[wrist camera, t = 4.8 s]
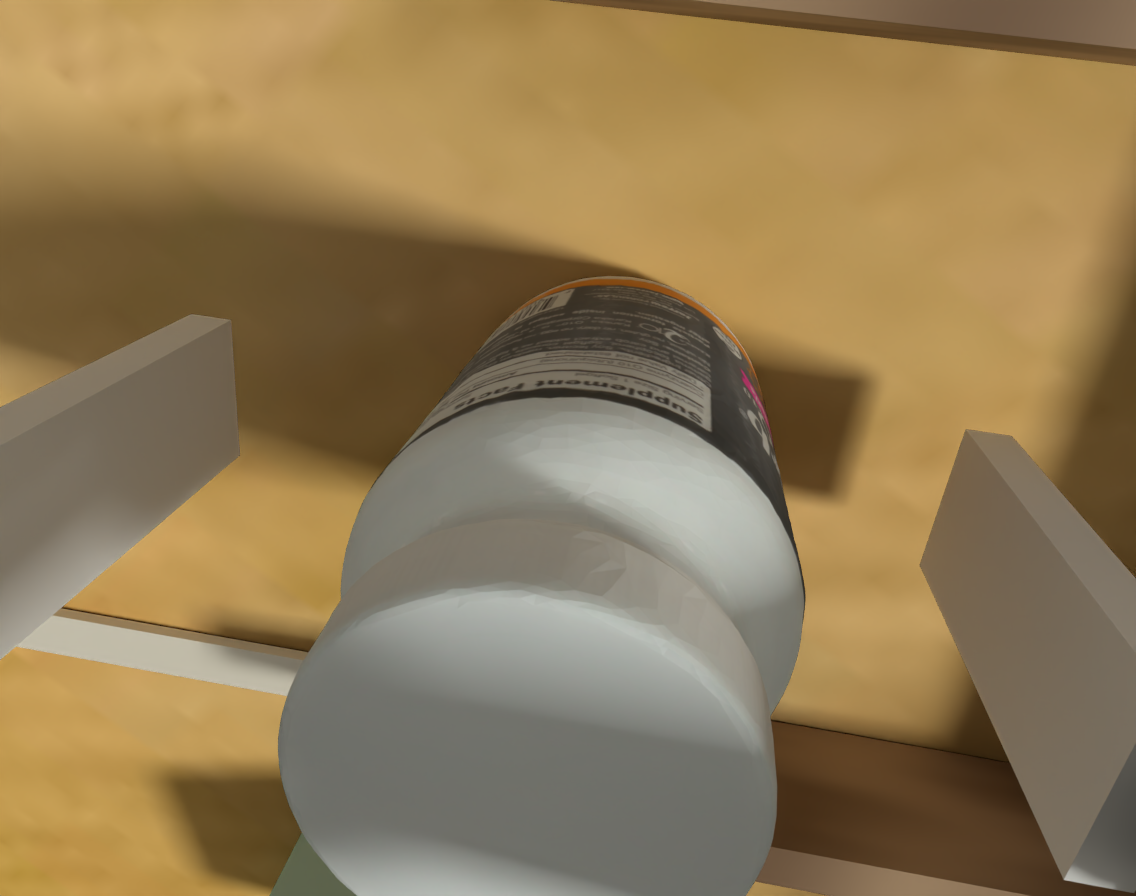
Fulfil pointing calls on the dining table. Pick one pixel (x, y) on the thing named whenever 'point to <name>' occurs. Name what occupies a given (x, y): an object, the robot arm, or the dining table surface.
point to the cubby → (880, 768)
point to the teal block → (308, 875)
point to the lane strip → (167, 651)
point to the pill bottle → (561, 622)
